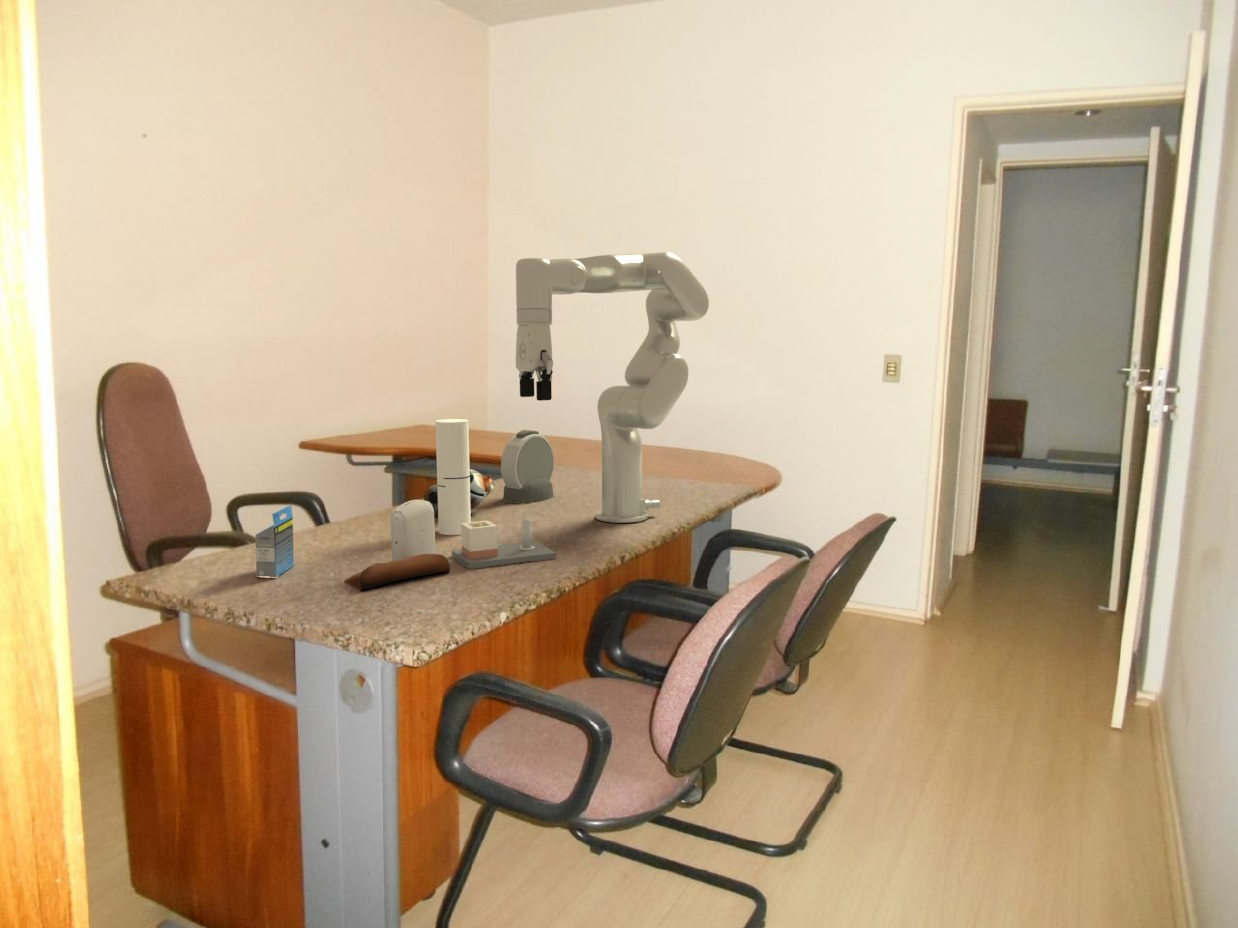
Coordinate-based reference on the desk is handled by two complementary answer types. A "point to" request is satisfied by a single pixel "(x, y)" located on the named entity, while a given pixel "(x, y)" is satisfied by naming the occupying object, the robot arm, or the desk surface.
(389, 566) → the sunglasses case
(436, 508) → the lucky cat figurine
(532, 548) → the pin board
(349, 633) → the desk surface
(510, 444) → the alarm clock
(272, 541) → the label tape box
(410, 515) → the photo printer
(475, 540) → the sleeve
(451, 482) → the cylindrical container
